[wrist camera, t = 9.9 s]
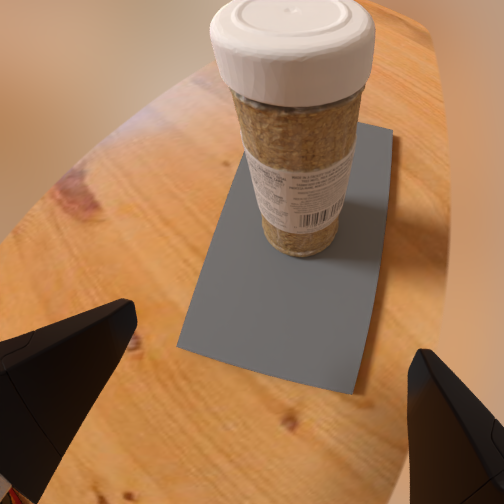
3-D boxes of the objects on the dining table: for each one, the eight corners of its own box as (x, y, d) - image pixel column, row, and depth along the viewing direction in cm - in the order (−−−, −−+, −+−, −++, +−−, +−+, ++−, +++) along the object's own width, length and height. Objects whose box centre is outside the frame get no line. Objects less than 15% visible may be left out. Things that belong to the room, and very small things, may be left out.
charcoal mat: (350, 393, 16) (352, 394, 15) (179, 347, 18) (176, 346, 17) (391, 135, 21) (392, 130, 21) (262, 112, 24) (261, 106, 23)
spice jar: (325, 184, 20) (337, -22, 7) (347, 250, 18) (410, 43, 6) (254, 200, 20) (199, -3, 8) (270, 269, 18) (216, 67, 6)
